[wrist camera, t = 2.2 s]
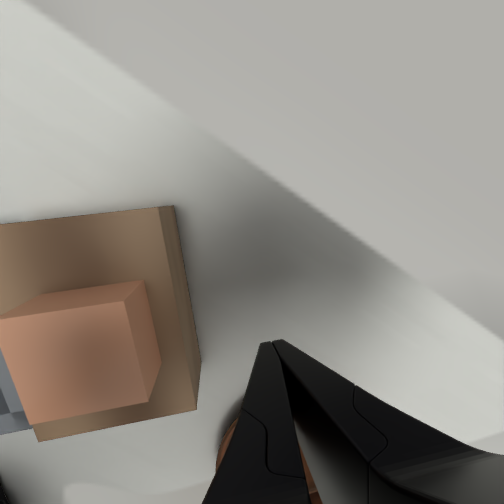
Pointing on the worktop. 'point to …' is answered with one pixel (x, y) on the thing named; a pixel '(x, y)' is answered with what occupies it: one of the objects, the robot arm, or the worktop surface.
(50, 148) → the worktop surface
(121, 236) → the tan wooden board
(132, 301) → the tile
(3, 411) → the box
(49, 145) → the worktop surface
